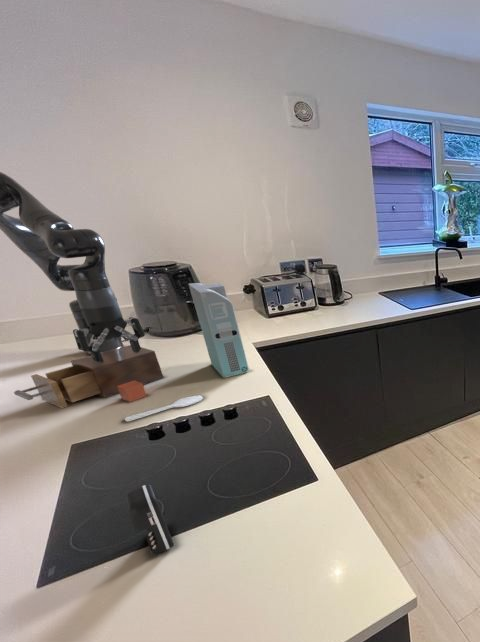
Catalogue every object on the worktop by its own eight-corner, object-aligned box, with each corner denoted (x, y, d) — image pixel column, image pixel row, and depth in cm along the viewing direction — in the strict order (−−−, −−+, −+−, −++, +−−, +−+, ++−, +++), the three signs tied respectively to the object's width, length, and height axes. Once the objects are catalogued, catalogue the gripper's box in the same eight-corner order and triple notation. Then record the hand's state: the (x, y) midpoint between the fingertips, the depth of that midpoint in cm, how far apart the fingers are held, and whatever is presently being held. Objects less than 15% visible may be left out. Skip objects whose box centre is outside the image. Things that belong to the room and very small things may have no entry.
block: (121, 399, 121) (116, 386, 120) (138, 392, 125) (134, 380, 123) (129, 402, 120) (124, 389, 118) (147, 395, 123) (142, 383, 122)
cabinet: (104, 397, 122) (92, 368, 118) (82, 389, 126) (70, 361, 123) (163, 377, 135) (154, 350, 131) (141, 370, 140) (132, 344, 136)
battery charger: (141, 538, 74) (120, 490, 70) (167, 527, 77) (148, 479, 72) (148, 560, 70) (125, 510, 65) (175, 547, 72) (155, 498, 68)
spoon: (123, 417, 112) (122, 415, 111) (200, 394, 125) (199, 393, 124) (127, 424, 108) (126, 422, 108) (205, 400, 121) (205, 398, 121)
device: (249, 371, 141) (228, 288, 130) (224, 378, 136) (199, 292, 124) (235, 358, 151) (215, 280, 140) (211, 364, 146) (188, 283, 135)
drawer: (38, 416, 110) (25, 390, 107) (18, 407, 114) (5, 382, 111) (124, 387, 126) (115, 364, 123) (104, 380, 130) (95, 357, 127)
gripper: (122, 296, 119) (140, 347, 125) (57, 308, 106) (80, 363, 112) (137, 299, 116) (154, 351, 122) (71, 311, 104) (94, 368, 110)
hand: (119, 357), depth 117 cm, fingers open, 8 cm apart
